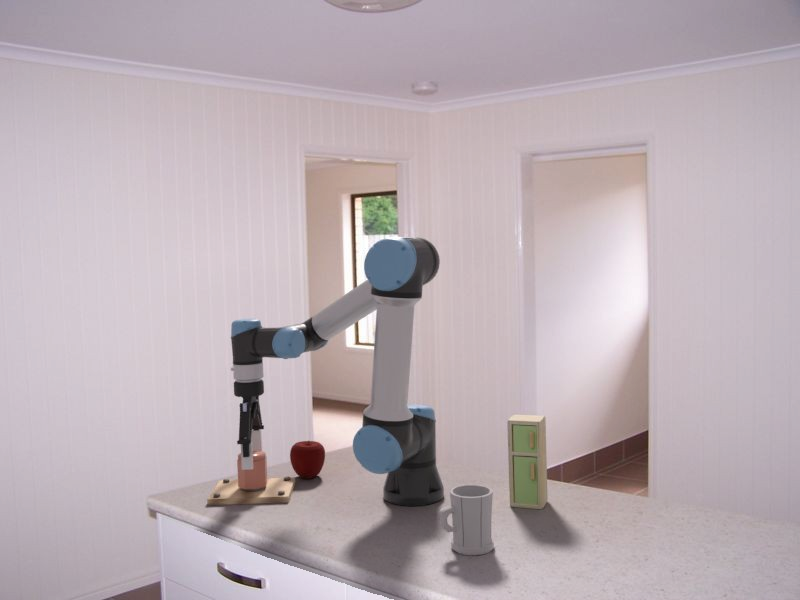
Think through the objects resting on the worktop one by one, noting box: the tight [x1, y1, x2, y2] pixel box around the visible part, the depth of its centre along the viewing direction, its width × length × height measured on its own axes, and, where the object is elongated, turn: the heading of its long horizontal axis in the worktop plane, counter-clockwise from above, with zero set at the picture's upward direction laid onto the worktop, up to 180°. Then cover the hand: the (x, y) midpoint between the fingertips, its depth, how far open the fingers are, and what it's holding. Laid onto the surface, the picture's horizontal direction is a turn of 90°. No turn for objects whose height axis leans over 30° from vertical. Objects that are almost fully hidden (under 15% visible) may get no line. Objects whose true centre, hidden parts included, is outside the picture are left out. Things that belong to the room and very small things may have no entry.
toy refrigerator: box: [507, 413, 549, 510], centre depth 186 cm, size 8×7×21 cm
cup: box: [439, 484, 495, 556], centre depth 160 cm, size 10×9×12 cm
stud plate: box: [206, 476, 296, 506], centre depth 201 cm, size 20×16×8 cm
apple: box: [289, 440, 326, 479], centre depth 214 cm, size 10×10×10 cm
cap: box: [236, 450, 268, 489], centre depth 200 cm, size 7×7×8 cm
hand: (252, 461), depth 200 cm, fingers open, 13 cm apart
